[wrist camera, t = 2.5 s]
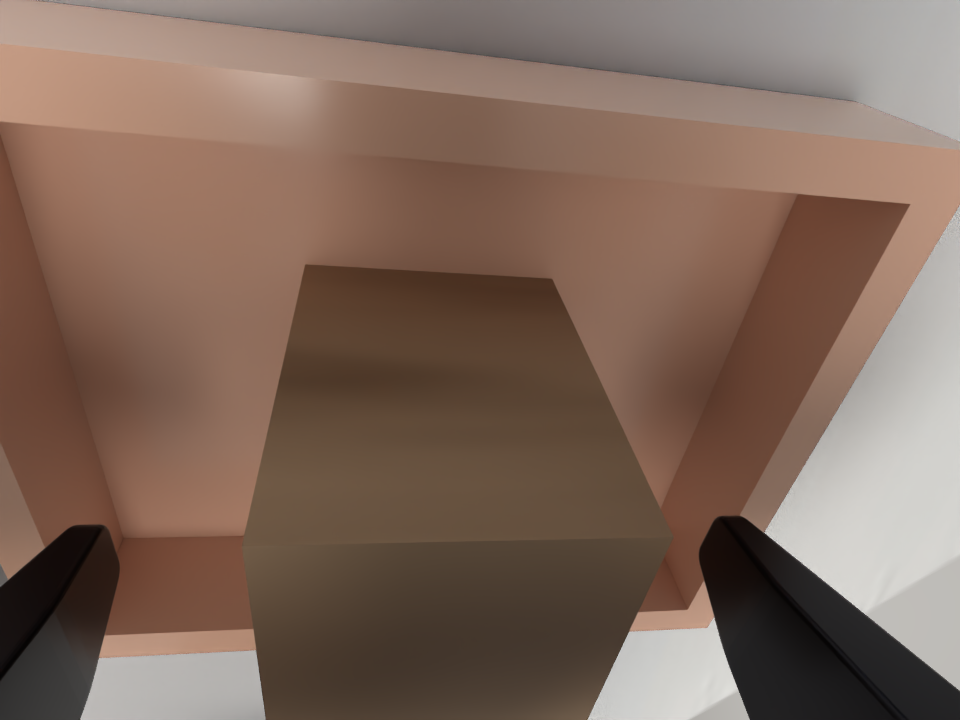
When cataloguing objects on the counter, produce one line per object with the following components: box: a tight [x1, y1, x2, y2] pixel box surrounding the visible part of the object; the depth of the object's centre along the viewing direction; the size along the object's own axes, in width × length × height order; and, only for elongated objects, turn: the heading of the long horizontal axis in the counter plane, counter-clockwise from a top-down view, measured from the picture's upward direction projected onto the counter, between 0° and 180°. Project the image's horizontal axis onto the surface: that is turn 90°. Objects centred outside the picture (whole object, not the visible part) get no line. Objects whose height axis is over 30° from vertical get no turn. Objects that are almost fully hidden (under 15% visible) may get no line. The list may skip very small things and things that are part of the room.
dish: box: [0, 0, 960, 658], centre depth 12 cm, size 12×15×3 cm
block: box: [242, 264, 674, 720], centre depth 10 cm, size 4×4×6 cm
